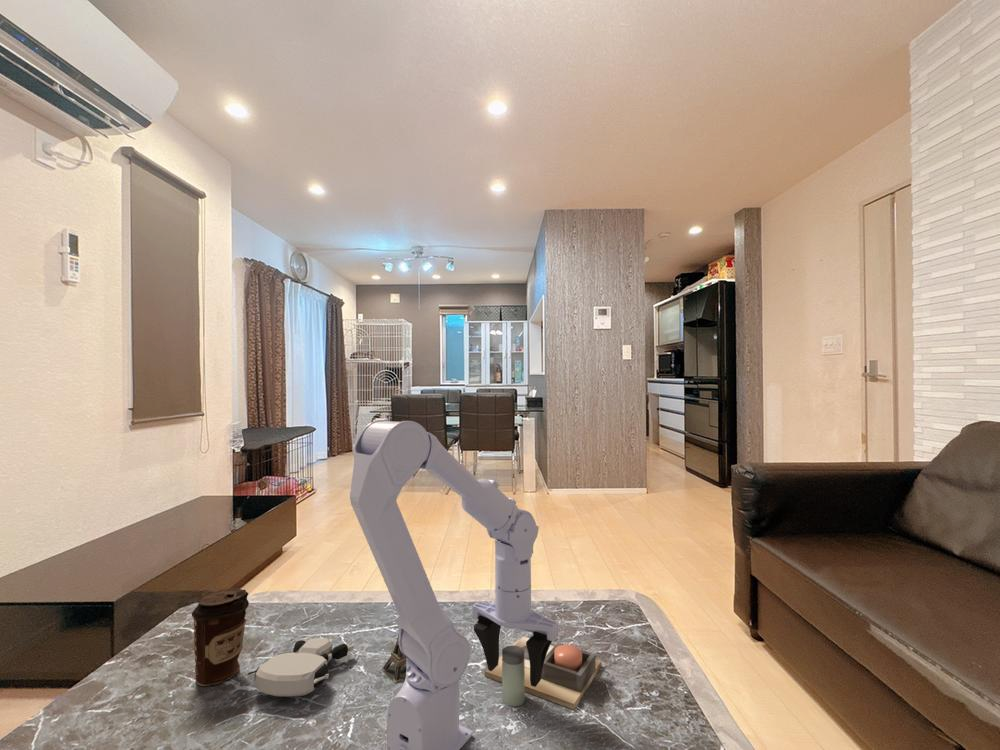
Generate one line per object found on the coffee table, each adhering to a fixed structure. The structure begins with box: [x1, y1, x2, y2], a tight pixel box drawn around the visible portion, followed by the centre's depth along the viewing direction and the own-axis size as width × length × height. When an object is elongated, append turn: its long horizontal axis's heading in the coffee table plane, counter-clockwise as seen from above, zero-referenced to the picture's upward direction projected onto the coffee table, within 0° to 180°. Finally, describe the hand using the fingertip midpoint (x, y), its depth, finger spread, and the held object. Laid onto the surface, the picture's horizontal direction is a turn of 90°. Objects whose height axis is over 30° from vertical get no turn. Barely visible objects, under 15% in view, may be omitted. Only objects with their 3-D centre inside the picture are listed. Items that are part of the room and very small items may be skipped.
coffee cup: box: [191, 587, 250, 687], centre depth 73 cm, size 9×8×13 cm
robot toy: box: [242, 637, 355, 697], centre depth 72 cm, size 12×4×15 cm
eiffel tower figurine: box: [380, 633, 407, 685], centre depth 74 cm, size 15×10×13 cm
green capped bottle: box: [501, 645, 526, 707], centre depth 67 cm, size 4×4×7 cm
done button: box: [554, 644, 582, 672], centre depth 72 cm, size 5×5×2 cm
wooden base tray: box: [484, 636, 602, 710], centre depth 74 cm, size 13×16×3 cm
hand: (513, 674), depth 67 cm, fingers open, 7 cm apart
